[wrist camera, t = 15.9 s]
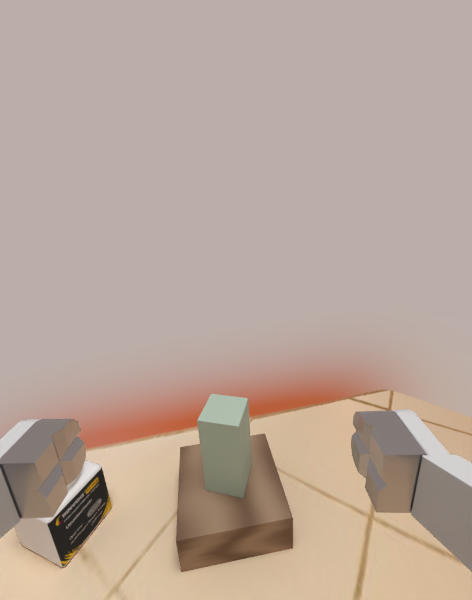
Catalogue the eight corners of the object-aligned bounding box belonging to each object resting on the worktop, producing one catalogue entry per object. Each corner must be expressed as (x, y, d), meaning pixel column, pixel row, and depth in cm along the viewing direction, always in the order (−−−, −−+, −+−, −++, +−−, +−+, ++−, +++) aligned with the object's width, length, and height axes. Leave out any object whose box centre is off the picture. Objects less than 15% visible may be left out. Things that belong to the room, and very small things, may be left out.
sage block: (205, 490, 33) (197, 420, 30) (217, 458, 38) (211, 393, 34) (243, 498, 32) (238, 426, 29) (251, 464, 36) (248, 398, 33)
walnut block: (182, 574, 30) (176, 541, 29) (184, 475, 41) (180, 447, 40) (292, 550, 32) (292, 517, 30) (265, 460, 43) (264, 433, 41)
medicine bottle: (64, 570, 31) (33, 484, 27) (19, 545, 33) (-14, 464, 30) (113, 507, 37) (94, 431, 33) (73, 491, 40) (51, 418, 36)
